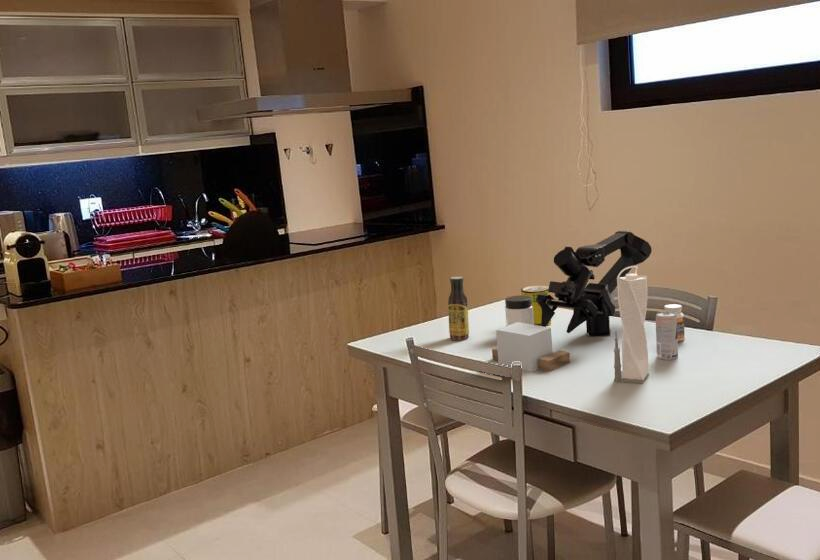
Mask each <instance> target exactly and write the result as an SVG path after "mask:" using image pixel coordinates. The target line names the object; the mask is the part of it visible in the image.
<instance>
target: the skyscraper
mask: <svg viewBox="0 0 820 560" xmlns="http://www.w3.org/2000/svg"><path fill="white" fill-rule="evenodd" d="M629 268H635V269H634V270H635V271H634V273H628V274H626V276H625V277H620V278H619V276H620V274H621V273H622V272H623V271H624V270H626V269H629ZM638 269H639V266H638V265H635V266H629V267H626V268H624V269H623V270H622V271H621V272H620V273H619V275H618V276H617V287H616V288H617V302H618V309H619V315H620V321H621V325H622V332H621V333H622V336H621V348H620V347H619V342H618V341H619V338H618V332H617V331H615V332H614V333H615V338H614V348H613V352H614V359H613V360H614V362H613V363H614V365H613V368H614V369H613V370H614V378H613V383H615V382H616V383H627V384H639V385H640V384H641V385H643V383H645V381H646V379H648V377H649V375H650V371H649V369H650V368H649V365H650V364H649V349H648V339H647V332H646V327H645V322H646V315H647V307H648V276H647V275H639V274H638V273H637V272H638ZM620 350H621V351H620ZM620 352H621V354H620ZM621 359H622V361H621ZM621 362H622V363H621Z"/></svg>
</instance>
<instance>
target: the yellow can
mask: <svg viewBox="0 0 820 560" xmlns="http://www.w3.org/2000/svg"><path fill="white" fill-rule="evenodd" d="M548 288H549V286H546V285H529V286H525V287H522V288H521V289H520V293H521V294H520V295H524V296H530V297H531V300H532V307H533V319H534V325H537V326H541V319H542V309H541V307H540V306H539V304H538V303H537V302H536V301H535V300H536V298H537V296H538V295H539V294H548V295H550V292H548ZM551 325H552V319H551V320H550V321H549V323H548V324H547V326H546V327H549V326H551Z"/></svg>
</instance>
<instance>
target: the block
mask: <svg viewBox="0 0 820 560" xmlns="http://www.w3.org/2000/svg"><path fill="white" fill-rule="evenodd" d="M495 332H496V335H495V336H496V345H497V346H496V347H497V348H498V360H497V361H498V365H501V364H504V365H503V366H506V365H508V366H507V367H510V366H511V364H512V362H513V361H520V362H522V369H521V370H523V371H529V372H534V371H536V370H540V369H539V364H538V359H539V358H541V357H544V356H546V355H549V354H551V353H554V352H553V341H552V340H553V339H552V327H549V326H546V327H543V326H537V325H531V324H525V323H519V322H517V323H514V324H511V325H508V326H503V327H500V328H497V329H495Z"/></svg>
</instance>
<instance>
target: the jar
mask: <svg viewBox="0 0 820 560" xmlns="http://www.w3.org/2000/svg"><path fill="white" fill-rule="evenodd" d="M504 301H505V302H504V303H505V306H504V311H505V323H506V324H505V325H506V326H508V325H511V324H514V323H517V322H519V323H525V324H531V325H534V319H533V307H532V300H531V297H530V296H524V295H521V294H519V295H512V296H511V295H510V296H508V297H506V298H505V299H504Z"/></svg>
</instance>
